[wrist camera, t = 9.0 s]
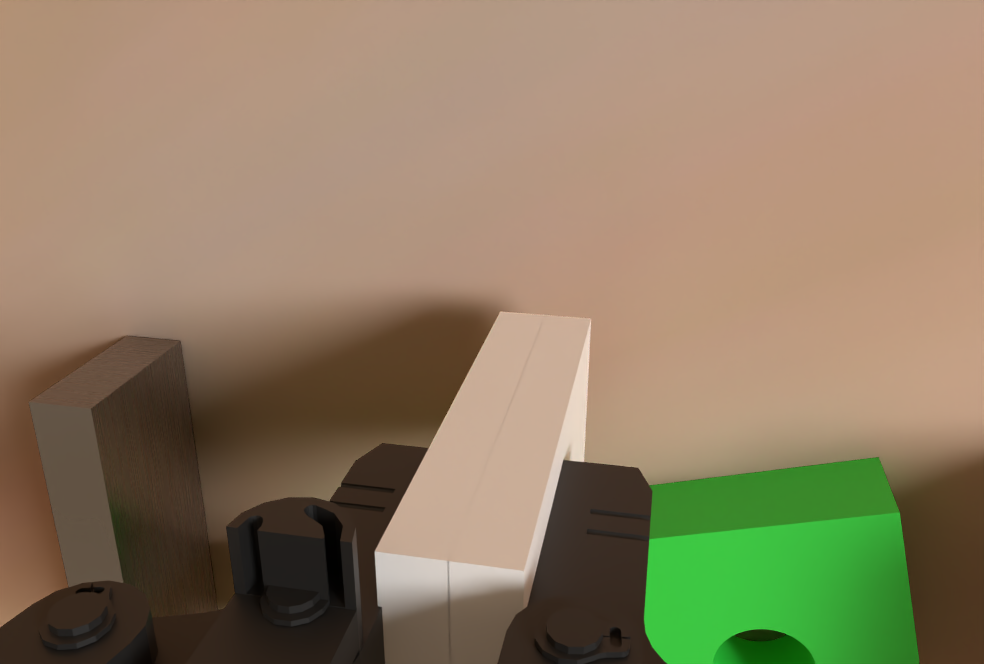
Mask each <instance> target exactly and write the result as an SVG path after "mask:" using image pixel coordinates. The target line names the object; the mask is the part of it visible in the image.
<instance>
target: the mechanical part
mask: <svg viewBox="0 0 984 664" xmlns="http://www.w3.org/2000/svg"><path fill="white" fill-rule="evenodd" d="M649 486H650V488H651V489H652V491H653V492H652V507H651V522H650V537H649V552H648V567H647V582H646V597H645V612H644V623H645V632H646V635H647V637H648V639H649V641H650V643H651V645H652V647H653V648H654V650H655V651H656V652H657V653H658V654H659V656H660V657H661V658H662V659H663V660H664V661H665V662H666V663H667V664H919V655H918V647H917V639H916V632H915V624H914V616H913V609H912V601H911V594H910V586H909V578H908V571H907V563H906V556H905V548H904V540H903V533H902V525H901V518H900V512H899V509H898V506H897V504H896V501H895V499H894V496H893V493H892V491H891V488H890V486H889V483H888V480H887V478H886V475H885V473H884V470H883V467H882V465H881V462H880V460H879V457H876V458H868V459H860V460H852V461H844V462H835V463H827V464H819V465H811V466H803V467H795V468H787V469H779V470H771V471H763V472H755V473H746V474H738V475H730V476H722V477H714V478H706V479H698V480H690V481H682V482H674V483H665V484H657V485H649ZM755 629H767V630H774V631H778V632H782V633H785V634H787V635H785V636H783V637H781V638H778V639H774V640H770V641H750V640H745V639H742V638H739V637H736V636H734V635H736V634H738V633H741V632H744V631H748V630H755Z"/></svg>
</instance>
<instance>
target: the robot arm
mask: <svg viewBox="0 0 984 664" xmlns="http://www.w3.org/2000/svg"><path fill="white" fill-rule="evenodd" d="M590 331H591V318H579V317H566V316H554V315H541V314H528V313H515V312H502V311H500V313H499V315H498V317H497V319H496V321H495V323H494V325H493V326H492V328H491V330H490V332H489V334H488V336H487V338H486V340H485V342H484V344H483V346H482V347H481V349H480V351H479V353H478V355H477V357H476V359H475V361H474V363H473V365H472V367H471V368H470V370H469V372H468V374H467V376H466V378H465V380H464V382H463V384H462V386H461V388H460V389H459V391H458V393H457V395H456V397H455V399H454V401H453V403H452V405H451V407H450V409H449V410H448V412H447V414H446V416H445V418H444V420H443V422H442V424H441V426H440V428H439V430H438V431H437V433H436V435H435V437H434V439H433V441H432V443H431V445H430V447H429V448H422V447H413V446H404V445H394V444H385V443H382V444H381V445H379V446H377V447H376V448H374V449H373V450H371V451H370V452H368V453H367V454H365V455H364V456H362V457H361V458H359V459H358V460H356V461H355V463H354V464H353V466H352V467H351V469H350V470H349V472H348V473H347V475H346V476H345V478H344V480H343V481H342V483H341V487H338V489H337V490H336V492H335V493H334V495H333V496H332V498H331V499H330V502H329V501H325V500H321V499H317V498H284V499H280V500H275V501H270V502H266V503H263V504H260V505H258V506H256V507H254V508H252V509H249V510H247V511H245V512H243V513H241V514H240V515H239V516H238V517H237V518H236V519H234V520H233V521H232V522H231V523H230V524H229V525H227V526H226V529H227V536H228V544H229V551H230V559H231V566H232V573H233V581H234V588H235V594H234V595H233V597H232V598H231V600H230V601H229V603H228V604H227V605H226V607H225V608H224V609H222V610H216V611H210V612H204V613H195V614H185V615H174V616H164V617H153V618H152V615H151V609H150V606H149V603H148V601H147V598H146V595H145V594H144V593H143V592H141V591H140V590H138V589H137V588H135V587H134V586H132V585H131V584H126V583H120V582H115V581H109V580H108V581H97V582H86V583H81V584H78V585H74V586H71V587H68V588H65V589H62V590H58V591H56V592H54V593H52V594H50V595H49V596H47V597H45V598H43V599H41V600H40V601H38V602H36V603H34V604H32V605H31V606H30V607H28V608H27V609H25V610H24V611H23V612H21V613H20V614H18V615H17V616H16V617H14V618H13V619H11V620H10V621H9V622H7V623H6V624H4V625H3V626H2V627H0V664H667V663H666V662H665V661H664V660H663V659H662V658H661V657H660V656H659V654H658V653H657V652H656V651H655V650H654V648H653V647H652V645H651V643H650V641H649V639H648V637H647V635H646V632H645V623H644V612H645V597H646V582H647V567H648V552H649V537H650V522H651V507H652V492H653V491H652V489H651V488H650V486H649V485H648V483H647V481H646V480H645V478H644V477H643V475H642V473H641V472H640V470H639V469H638V468H634V467H625V466H616V465H606V464H597V463H587V462H584V451H585V431H586V411H587V391H588V371H589V351H590Z"/></svg>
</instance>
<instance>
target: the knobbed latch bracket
mask: <svg viewBox="0 0 984 664" xmlns="http://www.w3.org/2000/svg"><path fill="white" fill-rule="evenodd" d="M29 406H30V411H31V415H32V420H33V425H34V429H35V434H36V438H37V443H38V448H39V452H40V457H41V462H42V466H43V471H44V475H45V480H46V485H47V489H48V494H49V499H50V503H51V508H52V513H53V517H54V522H55V526H56V531H57V536H58V540H59V545H60V550H61V554H62V559H63V563H64V568H65V573H66V577H67V582H68V587H71V586H74V585H78V584H81V583H86V582H97V581H108V580H109V581H115V582H120V583H126V584H131V585H132V586H134V587H135V588H137V589H138V590H140V591H141V592H143V593H144V594H145V595H146V598H147V601H148V603H149V606H150V609H151V615H152V618H153V617H164V616H174V615H185V614H195V613H204V612H210V611H216V610H218V608H217V601H216V594H215V587H214V580H213V572H212V565H211V558H210V551H209V543H208V536H207V529H206V522H205V515H204V507H203V500H202V493H201V486H200V478H199V471H198V464H197V457H196V450H195V442H194V435H193V428H192V421H191V413H190V406H189V399H188V392H187V384H186V377H185V370H184V363H183V356H182V348H181V341H176V340H166V339H155V338H144V337H133V336H126V337H124V338H123V339H121V340H120V341H118V342H117V343H115V344H114V345H112V346H111V347H109V348H108V349H106V350H105V351H103V352H102V353H100V354H99V355H97V356H96V357H94V358H93V359H91V360H90V361H88V362H87V363H86V364H84V365H83V366H81V367H80V368H78V369H77V370H75V371H74V372H72V373H71V374H69V375H68V376H66V377H65V378H63V379H62V380H60V381H59V382H57V383H56V384H54V385H53V386H51V387H50V388H48V389H47V390H46V391H44V392H43V393H41V394H40V395H38V396H37V397H35V398H34V399H32V400H31V401H29Z"/></svg>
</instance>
